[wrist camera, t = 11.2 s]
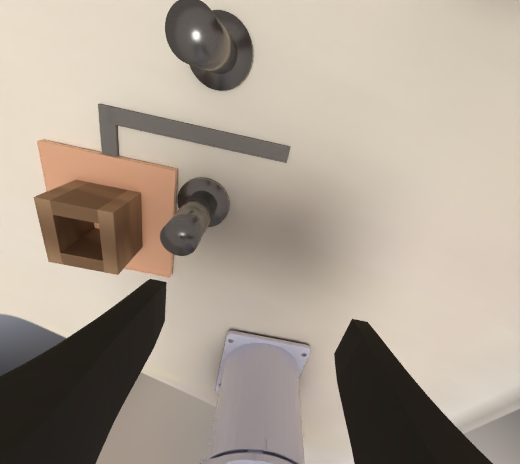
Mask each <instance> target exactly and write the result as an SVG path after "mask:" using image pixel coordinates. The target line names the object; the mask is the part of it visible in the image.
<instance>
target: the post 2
mask: <svg viewBox="0 0 520 464" xmlns="http://www.w3.org/2000/svg"><path fill="white" fill-rule="evenodd" d="M178 207H179V210H178V211H177V212H176V213H175V215H174V216H173V217H172V218H171V219H170V220H169V222H168V223H167V224H166V225H165V226H164V227H163V229H162V230H161V233H160V241H161V243H162V245H163V247H164V248H165V249H166V250H167V251H169V252H170V253H172V254H174V255H178V256H186V255H189V254H191V253H193V252H194V251H195V249H196V247H197V245H198V244H199V242H200V240H201V238H202V236H203V234H204V232H205V230H206V228H207V227H212V226H215V225H217V224H219V223H220V222H222V221H223V220H224V218H225V217H226V215H227V213H228V210H229V198H228V195H227V193H226V191H225V189H224V188H223V187H222V186H221V185H220V184H219V183H217V182H216V181H214V180H212V179H209V178H203V177H200V178H194V179H191V180H190V181H188V182H187V183H185V184H184V185H183V187H182V188H181V189H180V191H179V194H178Z"/></svg>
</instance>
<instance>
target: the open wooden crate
mask: <svg viewBox="0 0 520 464" xmlns="http://www.w3.org/2000/svg"><path fill="white" fill-rule="evenodd" d="M34 201H35V205H36V209H37V214H38V218H39V222H40V227H41V231H42V235H43V240H44V244H45V248H46V252H47V257H48V261H49V262H53V263H58V264H64V265H69V266H74V267H80V268H85V269H90V270H96V271H101V272H106V273H112V274H117V275H118V274H119V273H120V272H121V271H122V270H123V269H124V268H125V266H126V265H127V264H128V263H129V262H130V261H131V260H132V259H133V257H134V256H135V255H136V254H137V253H138V252H139V251H140V249H141V248H142V247H143V244H142V205H141V193H140V192H135V191H130V190H125V189H120V188H115V187H110V186H105V185H100V184H95V183H90V182H85V181H80V180H74V181H71V182H69V183H66V184H64V185H62V186H59V187H57V188H55V189H52V190H50V191H47V192H45V193H43V194H40V195H38V196H36V197H34ZM94 223H98V224H99V229H98V228H95V227H94Z"/></svg>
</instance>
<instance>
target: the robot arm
mask: <svg viewBox="0 0 520 464" xmlns="http://www.w3.org/2000/svg"><path fill="white" fill-rule="evenodd" d="M165 303H166V282H163V281H158V280H153V279H149V280H148V281H146V282H145V283H144V284H142V285H141V286H140V287H139V288H137V289H136V290H135V291H133V292H132V293H131V294H130V295H128V296H127V297H126V298H124V299H123V300H122V301H120V302H119V303H118V304H116V305H115V306H114V307H112V308H111V309H109V310H108V311H107V312H105V313H104V314H102V315H101V316H100V317H98V318H97V319H95V320H94V321H93V322H91V323H89V324H88V325H86V326H85V327H83V328H82V329H80V330H79V331H77V332H76V333H74V334H73V335H71V336H70V337H68V338H67V339H65V340H64V341H62V342H61V343H59V344H57V345H56V346H54V347H52V348H51V349H49V350H47V351H45V352H44V353H42V354H41V355H39V356H37V357H35V358H33V359H32V360H30V361H28V362H26V363H25V364H23V365H21V366H19V367H17V368H15V369H14V370H12V371H10V372H8V373H6V374H4V375H3V376H0V464H95V463H96V461H97V459H98V456H99V454H100V452H101V450H102V447H103V445H104V443H105V441H106V438H107V436H108V434H109V432H110V429H111V427H112V425H113V423H114V421H115V419H116V417H117V415H118V413H119V411H120V409H121V407H122V405H123V403H124V402H125V400H126V398H127V396H128V394H129V392H130V390H131V389H132V387H133V385H134V383H135V381H136V380H137V378H138V376H139V374H140V372H141V370H142V369H143V367H144V365H145V363H146V361H147V359H148V357H149V356H150V354H151V352H152V350H153V348H154V346H155V344H156V341H157V339H158V336H159V334H160V332H161V329H162V327H163V324H164V321H165ZM310 352H311V350H310V346H308V345H305V344H300V343H295V342H289V341H284V340H279V339H274V338H269V337H263V336H258V335H253V334H248V333H243V332H237V331H229V332H228V333H227V336H226V341H225V346H224V351H223V355H222V360H221V365H220V370H219V375H218V379H217V384H216V389H215V390H216V392H218V393H219V397H218V402H217V407H216V413H215V417H214V422H213V428H212V433H211V438H210V444H209V448H208V453H207V458H206V459H201V460H200V464H305V463H304V449H303V435H302V422H301V408H300V394H299V381H298V379H299V376H300V374H301V372H302V370H303V368H304V365H305V363H306V361H307V359H308V356H309V354H310ZM334 355H335V367H336V376H337V383H338V388H339V393H340V397H341V402H342V407H343V411H344V416H345V420H346V425H347V429H348V434H349V438H350V443H351V447H352V452H353V457H354V463H355V464H493V463H491V462H490V461H489V460H488V459H487V458H486V457H485V456H484V455H483V454H482V453H481V452H480V451H479V450H478V449H477V448H476V447H475V446H474V445H473V444H472V443H471V442H470V441H469V440H468V439H467V438H466V437H465V436H464V435H463V434H462V432H461V431H460V430H459V429H458V428H457V427H456V426H455V425H454V424H453V423H452V422H451V421H450V420H449V419H448V418H447V417H446V416H445V415H444V414H443V412H442V411H441V410H440V409H439V408H438V407H437V406H436V405H435V403H434V402H433V401H432V400H431V399H430V398H429V397H428V396H427V394H426V393H425V392H424V391H423V390H422V389H421V387H420V386H419V385H418V384H417V383H416V382H415V380H414V379H413V378H412V377H411V376H410V374H409V373H408V372H407V371H406V369H405V368H404V367H403V366H402V365H401V363H400V362H399V361H398V360H397V358H396V357H395V356H394V355H393V353H392V352H391V351H390V349H389V348H388V347H387V346H386V344H385V343H384V342H383V341H382V339H381V338H380V337H379V335H378V334H377V333H376V332H375V330H374V329H373V328H372V327H371V326H370V324H369V323H368V322H365V321H359V320H354V319H352V320H351V322H350V324H349V326H348V328H347V330H346V332H345V334H344V336H343V338H342V340H341V342H340V344H339V346H338V348H337V349H336V351H335V353H334Z"/></svg>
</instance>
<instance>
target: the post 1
mask: <svg viewBox="0 0 520 464" xmlns="http://www.w3.org/2000/svg"><path fill="white" fill-rule="evenodd" d="M165 32H166V38H167V41H168V44H169V46H170V48H171V50H172V51H173V53H174V54H175V55H176V56H177V57H178V58H179V59H180V60H182V61H183V62H185V63H187V64H189V65H190V67H191V69H192V71H193V73H194V75H195V76H196V77H197V78H198V80H199V81H200V82H202V83H203V84H204V85H206V86H207V87H209V88H211V89H215V90H230V89H233V88H235V87H237V86H238V85H240V84H241V83H242V82H243V81H244V80H245V79H246V77H247V75H248V74H249V72H250V69H251V66H252V62H253V46H252V41H251V38H250V36H249V33H248V31H247V29H246V28H245V26H244V25H243V23H242V22H241V21H240V20H239V19H238V18H237V17H235V16H234V15H233V14H231V13H229V12H226V11H222V10H213V11H211V9H210V8H209V7H208V6H207V5H206V4H205V3H203V2H202V1H200V0H179V1H177V2H176V3H175V4H173V6H172V7H171V8H170V10H169V12H168V14H167V17H166V22H165Z"/></svg>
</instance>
